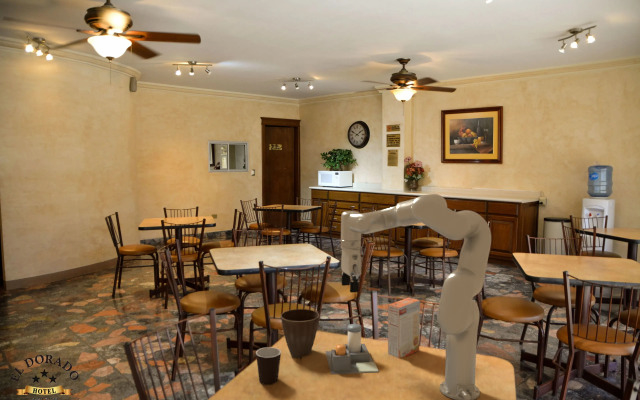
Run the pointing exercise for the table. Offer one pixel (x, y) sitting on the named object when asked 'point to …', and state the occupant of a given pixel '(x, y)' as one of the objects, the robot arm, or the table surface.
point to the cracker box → (403, 327)
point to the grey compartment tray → (347, 361)
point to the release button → (340, 349)
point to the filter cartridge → (354, 338)
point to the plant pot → (300, 330)
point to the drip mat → (367, 367)
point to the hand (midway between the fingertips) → (349, 288)
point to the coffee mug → (268, 365)
